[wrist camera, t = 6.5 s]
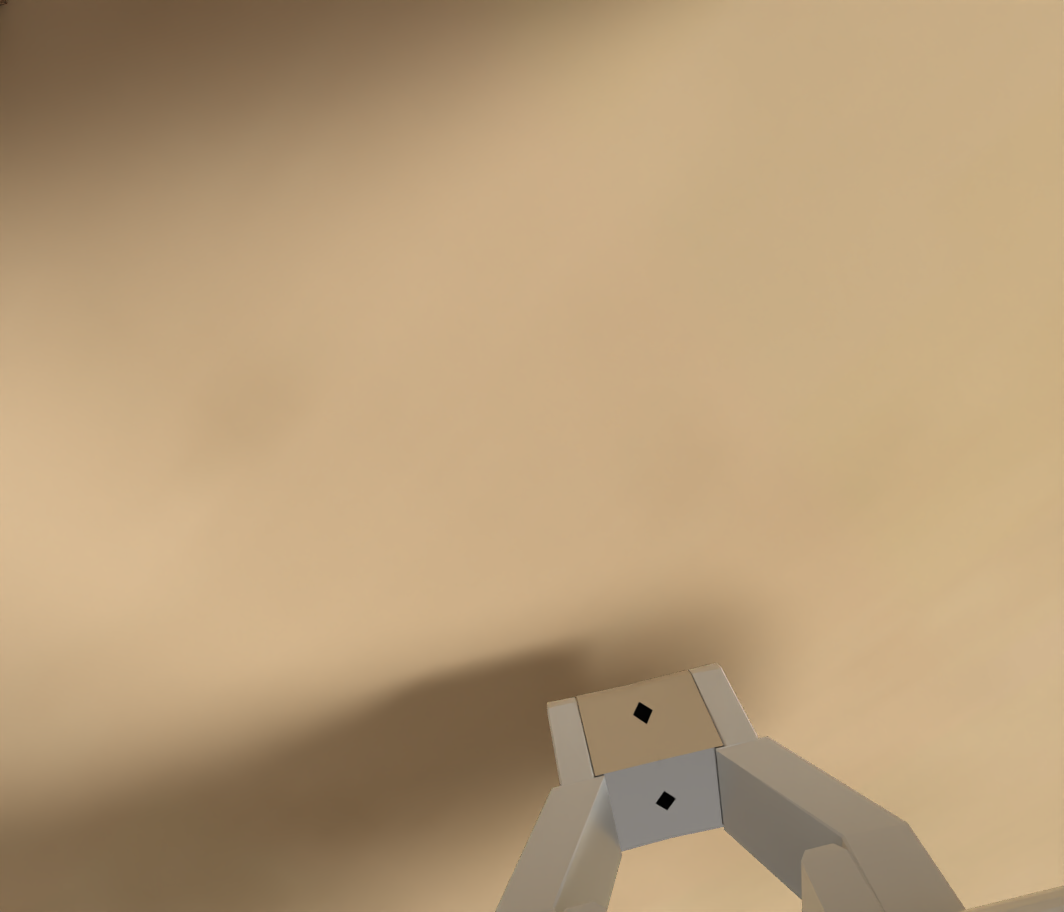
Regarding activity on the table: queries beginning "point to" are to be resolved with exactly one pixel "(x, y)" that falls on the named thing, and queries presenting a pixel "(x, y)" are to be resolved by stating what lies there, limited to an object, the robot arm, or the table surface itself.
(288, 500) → the table surface
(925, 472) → the table surface
